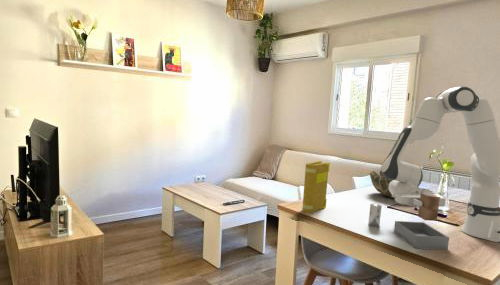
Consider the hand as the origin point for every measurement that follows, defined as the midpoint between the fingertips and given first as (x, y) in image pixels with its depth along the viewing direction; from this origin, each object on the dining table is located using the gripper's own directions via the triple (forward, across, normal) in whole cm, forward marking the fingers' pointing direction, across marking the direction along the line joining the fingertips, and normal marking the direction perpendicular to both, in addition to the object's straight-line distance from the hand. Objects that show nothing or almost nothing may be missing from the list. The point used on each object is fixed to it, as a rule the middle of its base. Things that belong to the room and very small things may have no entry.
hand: (430, 205), depth 135 cm
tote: (-5, 0, +17) cm, 18 cm away
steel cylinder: (-21, -13, +17) cm, 30 cm away
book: (-43, -37, +18) cm, 59 cm away
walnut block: (-1, 0, +6) cm, 6 cm away
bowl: (-77, +22, +17) cm, 82 cm away
